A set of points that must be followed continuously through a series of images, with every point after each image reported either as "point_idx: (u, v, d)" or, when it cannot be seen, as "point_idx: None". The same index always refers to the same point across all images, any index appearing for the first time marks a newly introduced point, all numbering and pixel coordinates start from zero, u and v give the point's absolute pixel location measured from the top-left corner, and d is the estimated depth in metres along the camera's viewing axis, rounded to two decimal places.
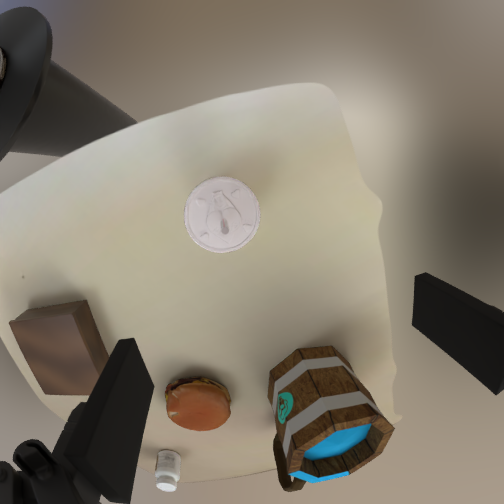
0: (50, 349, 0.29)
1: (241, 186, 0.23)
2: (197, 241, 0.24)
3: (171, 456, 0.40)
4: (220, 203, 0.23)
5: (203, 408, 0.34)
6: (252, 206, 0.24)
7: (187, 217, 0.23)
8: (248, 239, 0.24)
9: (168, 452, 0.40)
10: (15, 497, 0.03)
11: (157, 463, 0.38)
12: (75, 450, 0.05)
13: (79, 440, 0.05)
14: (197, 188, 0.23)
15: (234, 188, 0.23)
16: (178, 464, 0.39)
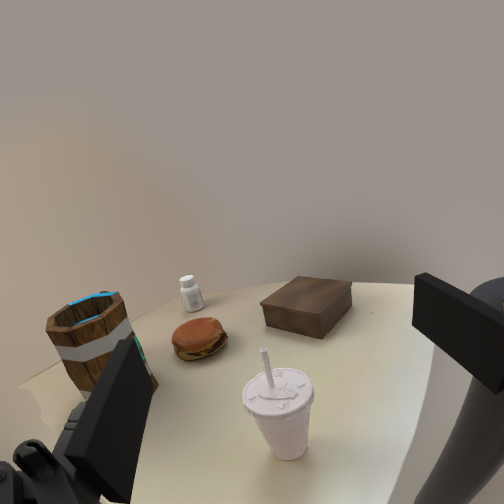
0: (314, 293, 0.50)
1: (282, 412, 0.20)
2: (278, 368, 0.26)
3: (193, 305, 0.64)
4: (285, 392, 0.22)
5: (194, 331, 0.46)
6: (260, 408, 0.21)
7: (299, 372, 0.25)
8: (243, 392, 0.23)
9: (197, 308, 0.65)
10: (15, 497, 0.03)
11: (200, 295, 0.66)
12: (75, 450, 0.05)
13: (79, 440, 0.05)
14: (311, 387, 0.22)
15: (285, 407, 0.21)
16: (186, 302, 0.64)
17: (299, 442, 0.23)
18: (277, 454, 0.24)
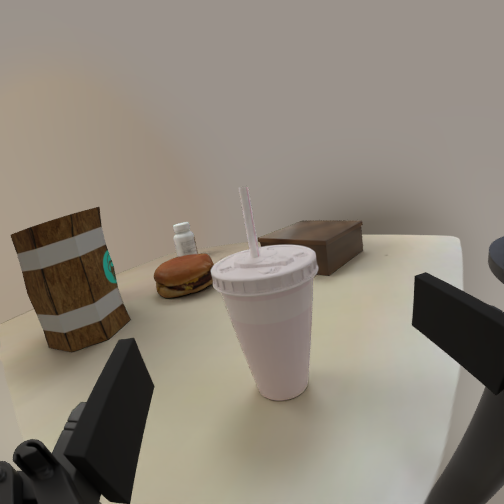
0: (320, 228, 0.44)
1: (267, 276, 0.14)
2: None
3: (186, 254, 0.59)
4: (274, 258, 0.16)
5: (179, 262, 0.41)
6: (234, 275, 0.15)
7: (295, 246, 0.19)
8: (215, 265, 0.18)
9: None
10: (15, 497, 0.03)
11: (195, 243, 0.60)
12: (75, 450, 0.05)
13: (79, 440, 0.05)
14: (313, 253, 0.16)
15: (272, 272, 0.15)
16: (178, 250, 0.59)
17: (296, 359, 0.17)
18: (263, 387, 0.18)
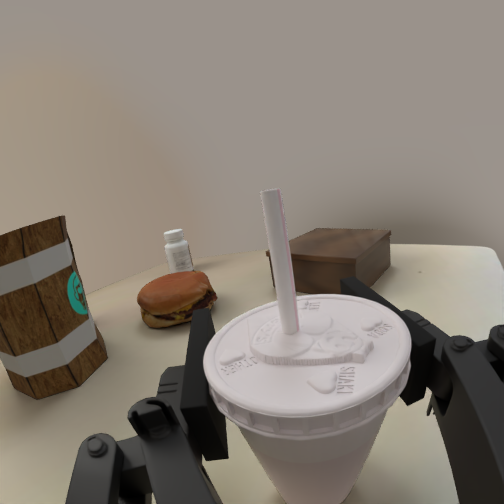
0: (343, 240, 0.35)
1: (332, 403, 0.06)
2: (305, 295, 0.11)
3: (180, 267, 0.50)
4: (334, 341, 0.07)
5: (167, 283, 0.32)
6: (254, 391, 0.06)
7: (358, 300, 0.10)
8: (211, 344, 0.09)
9: (184, 270, 0.50)
10: (114, 475, 0.05)
11: (189, 254, 0.51)
12: (193, 402, 0.07)
13: (193, 393, 0.07)
14: (403, 326, 0.07)
15: (341, 388, 0.06)
16: (170, 262, 0.50)
17: (349, 480, 0.08)
18: (291, 502, 0.09)
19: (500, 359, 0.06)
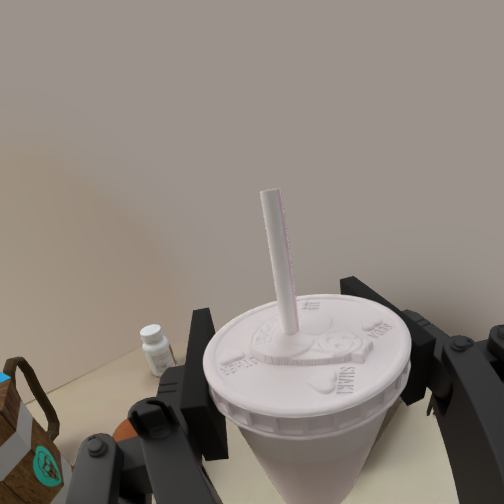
0: None
1: (332, 403, 0.06)
2: (304, 295, 0.11)
3: (161, 369, 0.40)
4: (333, 341, 0.07)
5: None
6: (254, 392, 0.06)
7: (358, 300, 0.10)
8: (211, 344, 0.09)
9: None
10: (114, 475, 0.05)
11: (171, 354, 0.42)
12: (193, 402, 0.07)
13: (193, 393, 0.07)
14: (403, 326, 0.07)
15: (341, 388, 0.06)
16: (150, 363, 0.40)
17: (349, 480, 0.08)
18: (291, 502, 0.09)
19: (500, 359, 0.06)
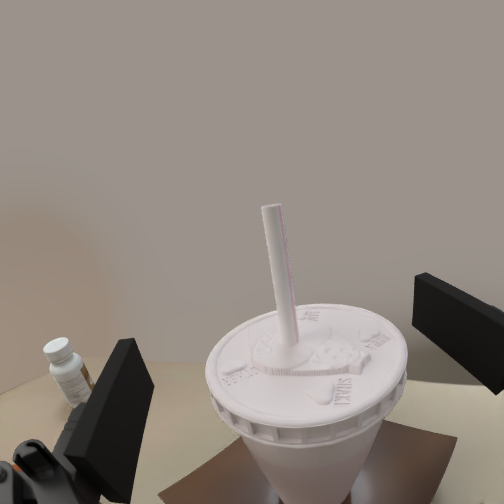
0: None
1: (329, 414, 0.06)
2: (304, 305, 0.11)
3: (73, 400, 0.24)
4: (332, 353, 0.08)
5: None
6: (255, 402, 0.07)
7: (357, 310, 0.10)
8: (213, 354, 0.09)
9: None
10: (15, 497, 0.03)
11: (85, 380, 0.25)
12: (75, 450, 0.05)
13: (79, 440, 0.05)
14: (400, 338, 0.08)
15: (338, 399, 0.06)
16: (60, 390, 0.24)
17: (346, 484, 0.08)
18: None
19: None
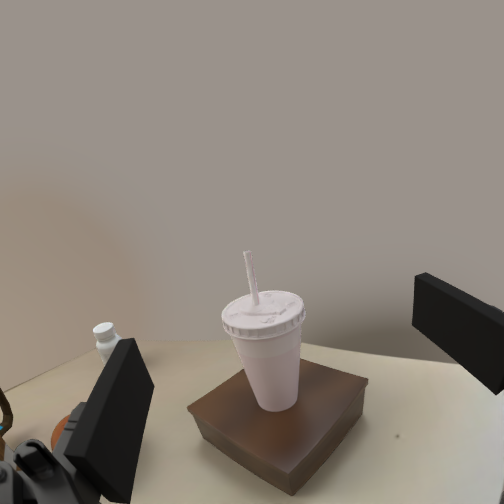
0: None
1: (265, 325, 0.19)
2: (266, 291, 0.24)
3: None
4: (271, 307, 0.21)
5: None
6: (240, 323, 0.20)
7: (288, 293, 0.23)
8: (224, 310, 0.22)
9: None
10: (15, 497, 0.03)
11: None
12: (75, 450, 0.05)
13: (79, 440, 0.05)
14: (301, 304, 0.21)
15: (270, 322, 0.19)
16: (103, 362, 0.37)
17: (287, 381, 0.21)
18: (262, 401, 0.22)
19: None
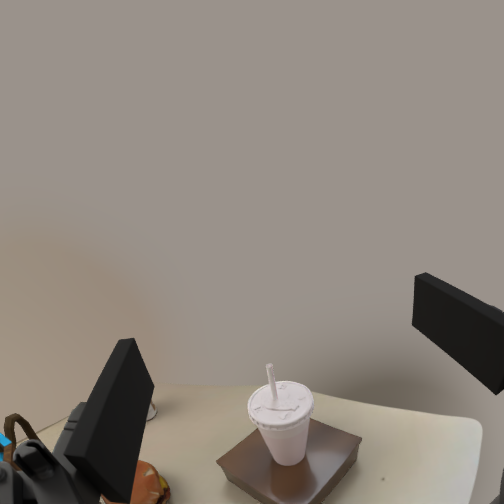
0: None
1: (283, 422, 0.22)
2: (282, 381, 0.27)
3: None
4: (287, 404, 0.24)
5: None
6: (264, 418, 0.23)
7: (300, 386, 0.26)
8: (249, 402, 0.25)
9: None
10: (15, 497, 0.03)
11: None
12: (75, 450, 0.05)
13: (79, 440, 0.05)
14: (311, 400, 0.24)
15: (287, 418, 0.22)
16: None
17: (298, 449, 0.24)
18: (277, 459, 0.25)
19: None
